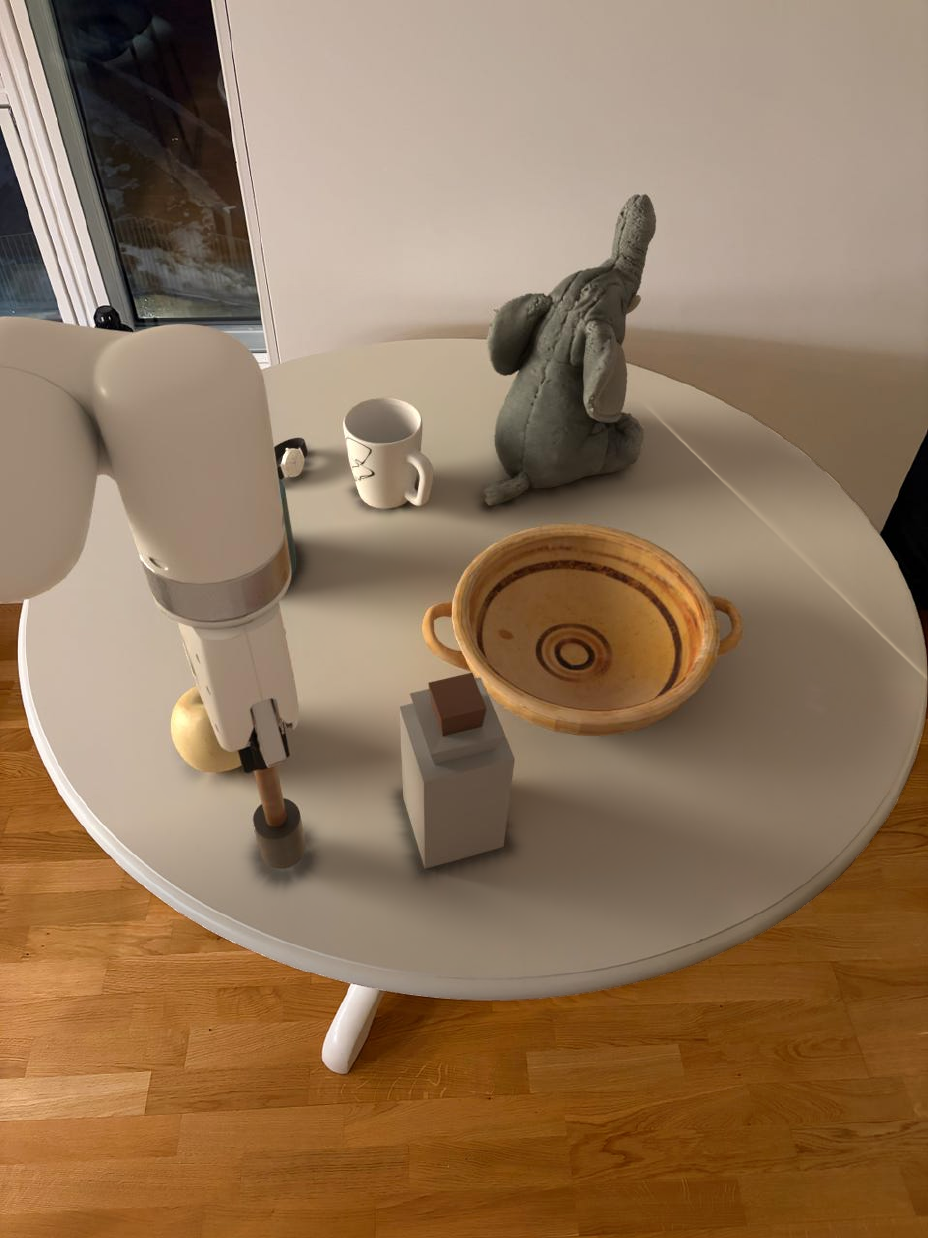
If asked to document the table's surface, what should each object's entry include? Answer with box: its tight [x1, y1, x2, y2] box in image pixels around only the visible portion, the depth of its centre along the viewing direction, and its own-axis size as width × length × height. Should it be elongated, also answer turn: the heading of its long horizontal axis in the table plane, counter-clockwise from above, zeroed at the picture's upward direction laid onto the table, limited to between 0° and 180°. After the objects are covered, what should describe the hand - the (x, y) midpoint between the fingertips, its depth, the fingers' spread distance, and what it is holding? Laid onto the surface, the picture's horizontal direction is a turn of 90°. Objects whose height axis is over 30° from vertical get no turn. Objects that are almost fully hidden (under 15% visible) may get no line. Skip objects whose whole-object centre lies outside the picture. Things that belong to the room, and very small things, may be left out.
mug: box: [342, 396, 435, 510], centre depth 99 cm, size 11×8×10 cm
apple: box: [170, 685, 242, 773], centre depth 78 cm, size 8×8×8 cm
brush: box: [252, 765, 307, 870], centre depth 65 cm, size 4×4×20 cm
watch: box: [274, 437, 309, 480], centre depth 104 cm, size 8×5×4 cm, turn 151°
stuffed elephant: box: [483, 193, 657, 506], centre depth 99 cm, size 19×21×27 cm
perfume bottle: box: [398, 672, 516, 870], centre depth 69 cm, size 7×7×18 cm
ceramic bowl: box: [421, 522, 744, 737], centre depth 84 cm, size 30×24×8 cm
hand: (260, 748), depth 62 cm, fingers closed on brush
